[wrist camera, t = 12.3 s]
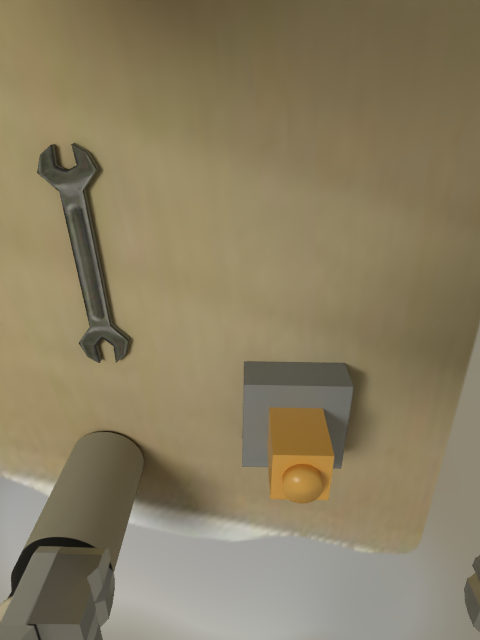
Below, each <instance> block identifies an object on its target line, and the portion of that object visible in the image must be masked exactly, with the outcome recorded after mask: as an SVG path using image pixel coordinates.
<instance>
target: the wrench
mask: <svg viewBox="0 0 480 640" xmlns="http://www.w3.org/2000/svg"><path fill="white" fill-rule="evenodd" d="M71 145H72V148H73V152H74V156H75V160H76V164H77V165H76V166H74V167H73V168H71V169H69V170H66V169H64V168H63V167H62V166H59V165H58V162H57V156H56V150H55V144H53V145H50V146H49V147H48V148H47V149H46V150H45V151H44V152H43V153H42V154H41V155H40V158H39V165H38V171H37V173H38V174H39V175H40V176H41V177H43V178H44V179H45V180H46V181H47V182H49V183H50V184H51V185H52V186H53V187H54V188H56V189H57V190H58V191H59V192H60V197H61V201H62V206H63V210H64V215H65V219H66V223H67V228H68V232H69V237H70V241H71V246H72V250H73V255H74V259H75V263H76V268H77V272H78V277H79V281H80V286H81V290H82V294H83V299H84V303H85V308H86V312H87V317H88V321H89V325H90V327H89V329H88V330H87V332H86V333H85V335H84V336H83V337H82V339H81V340H80V342H79V344H80V346H81V347H82V349H83V350H84V352H85V353H86V355H87V356H88V357H89V358H91V359H93V360H94V361H96V362H98V363H100V361H101V360H102V358H101V354H100V350H99V347H98V342H99V341H100V340H101V339H102V338H103V339H105V340H106V341H107V342H109V343H110V344H111V345H113V346H114V352H115V359H116V362H117V361H119V360H120V359H121V358H122V357H123V356H125V354H126V352H127V348H128V343H129V338H130V337H129V336H128V335H127V334H125V333H124V332H123V331H122V330H121V329H120V328H118V327H117V326H116V325H115V324H114V323H112V318H111V313H110V308H109V303H108V298H107V293H106V288H105V283H104V278H103V273H102V268H101V263H100V258H99V253H98V248H97V243H96V238H95V233H94V228H93V223H92V218H91V213H90V208H89V203H88V198H87V193H86V187H87V186H88V184H89V183H90V181H91V180H92V178H93V177H94V175H95V174H96V172H97V171H98V170H99V167H98V166H97V164H96V162H95V161H94V159H93V157H92V156H91V154H90V152H89V151H87V150H86V149H84V148H82V147H81V146H79V145H77V144H76V143H73V144H71Z"/></svg>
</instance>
